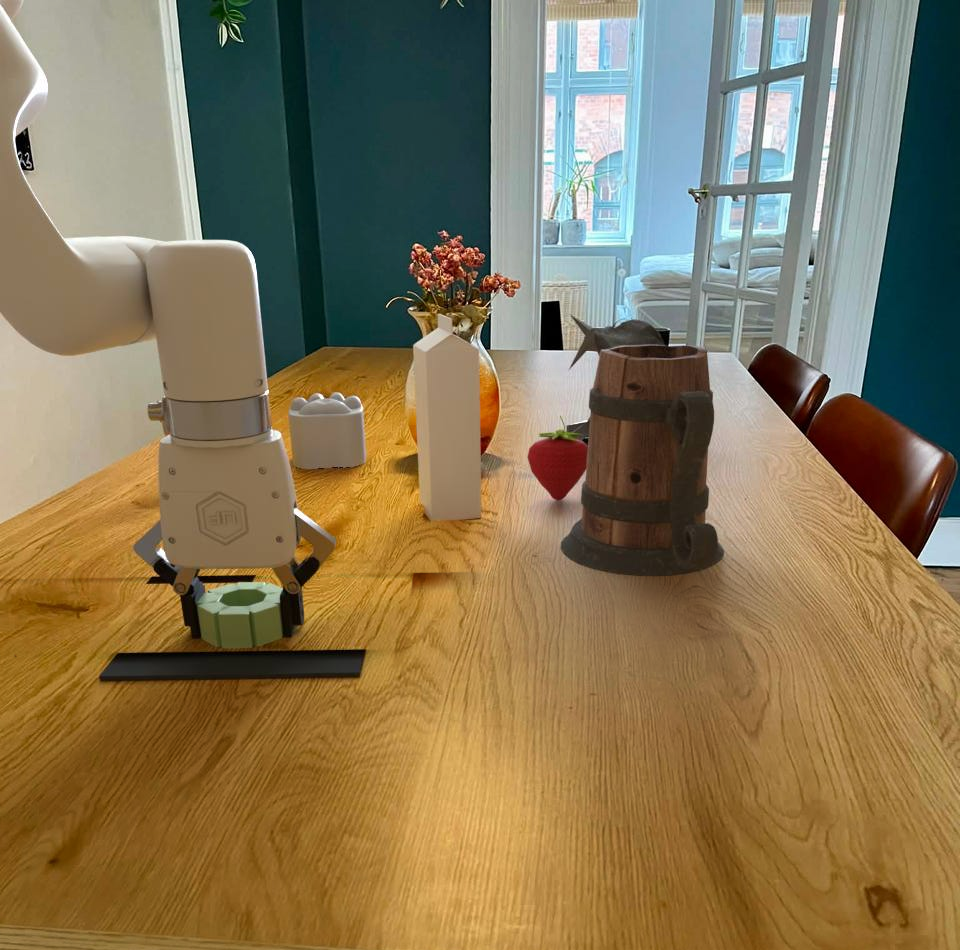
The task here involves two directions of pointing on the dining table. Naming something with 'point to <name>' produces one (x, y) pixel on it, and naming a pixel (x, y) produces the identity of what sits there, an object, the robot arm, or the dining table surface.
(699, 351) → the tankard
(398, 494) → the dining table surface
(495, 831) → the dining table surface
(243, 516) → the robot arm
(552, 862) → the dining table surface
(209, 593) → the ring
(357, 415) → the lumpy-topped squat cylinder
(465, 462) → the milk
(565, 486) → the strawberry
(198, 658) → the mat
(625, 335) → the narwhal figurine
